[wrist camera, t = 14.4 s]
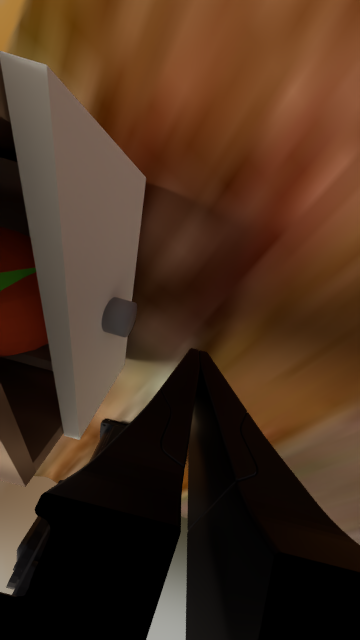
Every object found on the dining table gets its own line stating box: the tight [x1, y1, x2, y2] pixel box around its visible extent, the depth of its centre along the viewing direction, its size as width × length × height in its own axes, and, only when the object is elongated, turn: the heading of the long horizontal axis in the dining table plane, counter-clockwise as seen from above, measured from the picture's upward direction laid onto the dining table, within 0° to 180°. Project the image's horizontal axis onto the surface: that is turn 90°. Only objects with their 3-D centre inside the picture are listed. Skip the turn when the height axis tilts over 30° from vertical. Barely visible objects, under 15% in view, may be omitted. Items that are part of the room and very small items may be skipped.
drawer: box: [0, 51, 146, 440], centre depth 10 cm, size 15×14×7 cm
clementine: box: [0, 227, 48, 357], centre depth 9 cm, size 8×7×7 cm
